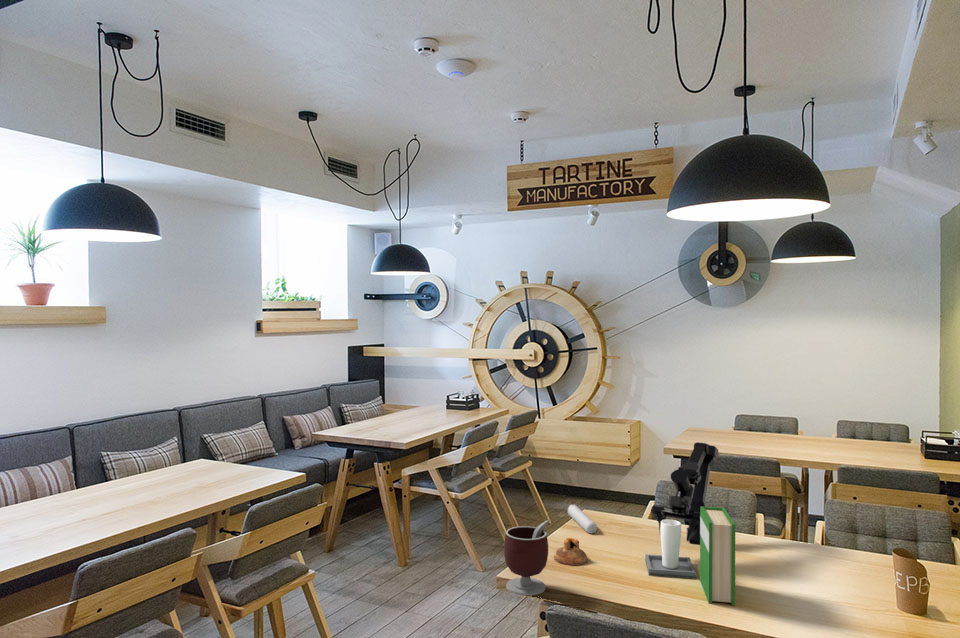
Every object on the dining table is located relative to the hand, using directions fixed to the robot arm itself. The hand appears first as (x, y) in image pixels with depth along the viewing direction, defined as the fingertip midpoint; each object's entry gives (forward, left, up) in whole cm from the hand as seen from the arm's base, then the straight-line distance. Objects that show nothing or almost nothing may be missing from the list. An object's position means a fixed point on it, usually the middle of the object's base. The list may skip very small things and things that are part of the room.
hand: (673, 537), depth 218 cm
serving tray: (+2, +4, -9) cm, 10 cm away
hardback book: (-10, +21, -10) cm, 25 cm away
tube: (+32, -39, -10) cm, 51 cm away
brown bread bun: (+35, +2, -10) cm, 37 cm away
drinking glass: (+2, +4, -9) cm, 10 cm away
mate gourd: (+48, +28, -9) cm, 56 cm away
